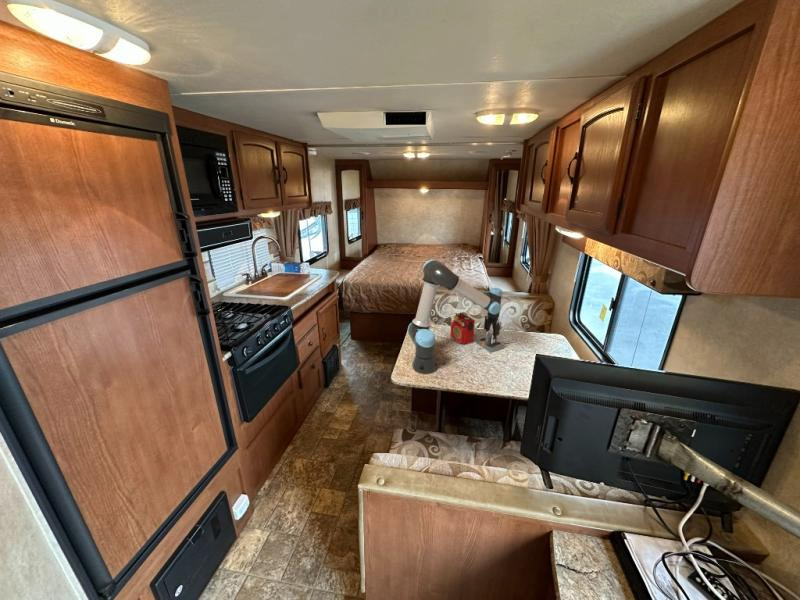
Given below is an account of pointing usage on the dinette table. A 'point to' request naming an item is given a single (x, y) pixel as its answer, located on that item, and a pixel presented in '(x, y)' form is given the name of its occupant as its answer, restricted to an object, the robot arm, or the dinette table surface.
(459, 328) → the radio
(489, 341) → the panel
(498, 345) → the rack
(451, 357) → the dinette table surface
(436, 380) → the dinette table surface
